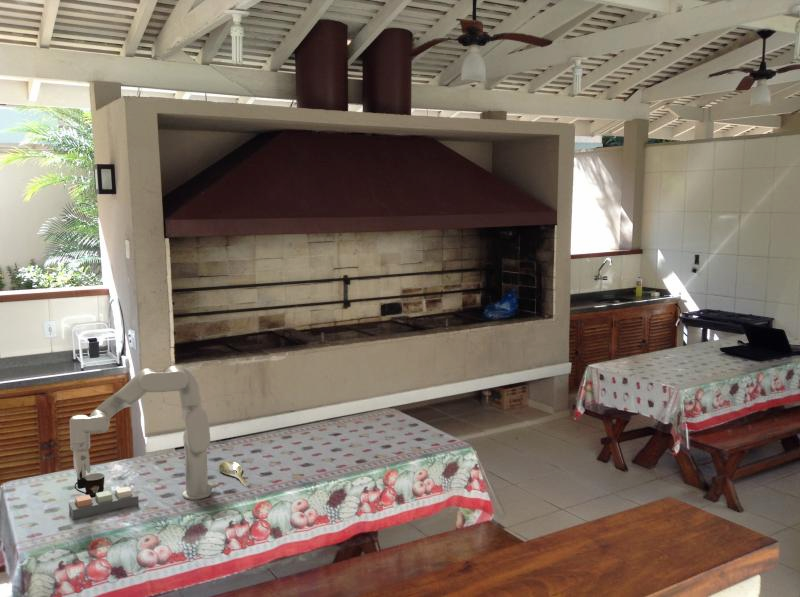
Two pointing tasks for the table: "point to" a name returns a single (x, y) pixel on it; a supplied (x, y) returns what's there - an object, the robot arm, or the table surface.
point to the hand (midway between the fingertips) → (81, 487)
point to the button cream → (123, 492)
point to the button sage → (103, 496)
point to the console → (103, 506)
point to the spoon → (232, 466)
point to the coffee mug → (93, 484)
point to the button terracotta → (83, 501)
